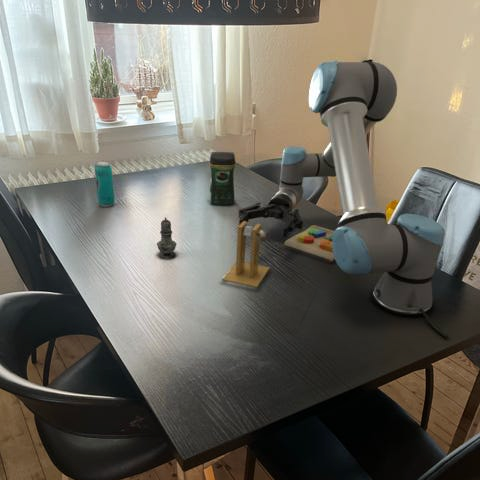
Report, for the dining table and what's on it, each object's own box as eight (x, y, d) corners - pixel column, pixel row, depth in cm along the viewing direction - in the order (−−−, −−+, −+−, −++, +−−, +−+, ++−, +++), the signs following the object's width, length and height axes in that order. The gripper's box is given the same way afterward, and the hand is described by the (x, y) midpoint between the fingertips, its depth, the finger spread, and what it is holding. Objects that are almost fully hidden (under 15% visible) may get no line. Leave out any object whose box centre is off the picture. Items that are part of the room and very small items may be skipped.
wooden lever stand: (237, 265, 147) (239, 214, 138) (269, 272, 144) (274, 220, 135) (222, 283, 137) (223, 230, 128) (256, 291, 135) (260, 237, 126)
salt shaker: (173, 260, 147) (172, 222, 141) (154, 257, 148) (152, 219, 141) (179, 251, 152) (178, 214, 145) (160, 249, 153) (159, 212, 146)
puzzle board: (357, 243, 163) (359, 233, 161) (332, 264, 150) (333, 254, 148) (309, 229, 171) (311, 220, 169) (282, 248, 158) (283, 238, 156)
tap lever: (254, 241, 147) (257, 228, 146) (266, 243, 146) (268, 231, 145) (240, 236, 132) (242, 223, 132) (252, 239, 131) (255, 225, 131)
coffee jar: (234, 198, 192) (236, 149, 182) (234, 206, 186) (236, 155, 175) (209, 197, 192) (209, 148, 181) (208, 205, 185) (209, 154, 175)
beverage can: (98, 202, 183) (93, 161, 174) (114, 201, 184) (110, 160, 176) (99, 208, 178) (94, 166, 170) (115, 206, 180) (111, 165, 171)
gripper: (318, 222, 161) (302, 248, 144) (245, 209, 167) (222, 232, 150) (321, 199, 156) (305, 224, 140) (246, 187, 163) (222, 209, 146)
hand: (262, 228), depth 145 cm, fingers open, 13 cm apart
